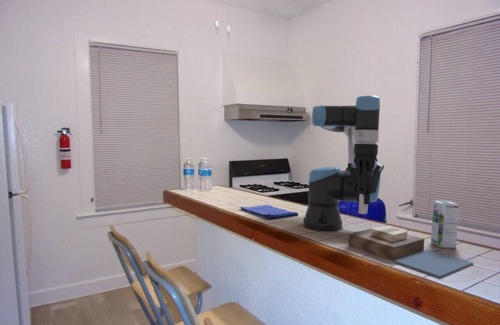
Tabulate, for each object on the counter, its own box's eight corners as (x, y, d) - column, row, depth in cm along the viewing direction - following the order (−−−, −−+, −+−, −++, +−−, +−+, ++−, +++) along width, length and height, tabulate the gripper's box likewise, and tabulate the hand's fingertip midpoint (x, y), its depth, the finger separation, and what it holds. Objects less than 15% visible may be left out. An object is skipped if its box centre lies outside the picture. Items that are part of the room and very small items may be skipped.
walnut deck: (348, 245, 110) (348, 233, 110) (378, 238, 119) (379, 227, 119) (393, 260, 97) (394, 247, 97) (423, 251, 106) (424, 238, 105)
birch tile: (370, 235, 108) (371, 228, 108) (384, 232, 112) (384, 225, 112) (393, 241, 102) (394, 234, 101) (407, 238, 105) (407, 231, 105)
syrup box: (429, 242, 115) (432, 200, 114) (447, 242, 115) (450, 200, 114) (438, 247, 110) (441, 203, 109) (457, 248, 110) (460, 203, 109)
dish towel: (268, 221, 142) (268, 214, 142) (239, 210, 162) (239, 204, 162) (299, 217, 152) (299, 210, 151) (268, 207, 171) (268, 201, 171)
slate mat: (392, 262, 96) (392, 260, 96) (426, 251, 106) (427, 249, 106) (439, 278, 85) (440, 275, 85) (472, 264, 95) (473, 262, 95)
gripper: (343, 142, 116) (340, 210, 118) (376, 143, 105) (372, 218, 107) (357, 143, 120) (354, 208, 122) (390, 143, 110) (387, 215, 111)
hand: (363, 213), depth 114 cm, fingers closed
